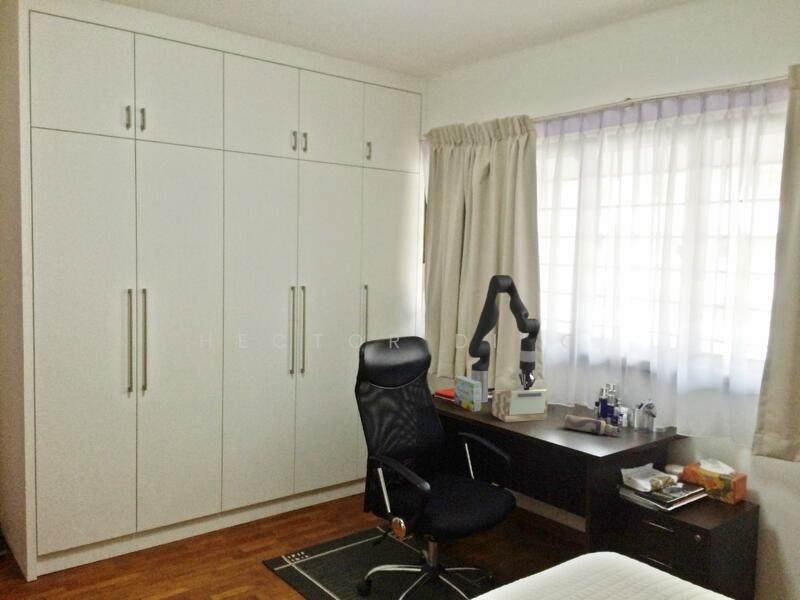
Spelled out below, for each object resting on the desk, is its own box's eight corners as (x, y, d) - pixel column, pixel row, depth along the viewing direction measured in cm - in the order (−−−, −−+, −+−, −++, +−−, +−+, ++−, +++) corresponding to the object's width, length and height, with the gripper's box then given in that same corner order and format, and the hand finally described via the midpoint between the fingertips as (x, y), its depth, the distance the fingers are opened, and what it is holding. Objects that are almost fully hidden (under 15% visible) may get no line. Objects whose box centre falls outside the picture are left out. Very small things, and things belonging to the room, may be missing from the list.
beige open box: (491, 414, 338) (492, 390, 337) (531, 412, 344) (532, 388, 343) (505, 421, 322) (506, 397, 322) (546, 419, 329) (547, 395, 328)
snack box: (453, 403, 361) (453, 375, 360) (462, 402, 363) (462, 375, 362) (472, 412, 342) (473, 383, 341) (482, 411, 344) (482, 382, 343)
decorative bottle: (562, 430, 309) (563, 415, 309) (568, 426, 316) (569, 412, 315) (618, 439, 294) (619, 424, 294) (624, 436, 301) (624, 421, 300)
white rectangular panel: (507, 413, 324) (511, 390, 320) (542, 411, 329) (545, 389, 326) (509, 415, 322) (512, 392, 319) (544, 413, 327) (547, 390, 324)
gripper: (514, 357, 329) (513, 392, 331) (526, 362, 317) (525, 398, 318) (528, 357, 331) (526, 391, 333) (541, 361, 319) (539, 397, 320)
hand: (526, 395), depth 325 cm, fingers closed
